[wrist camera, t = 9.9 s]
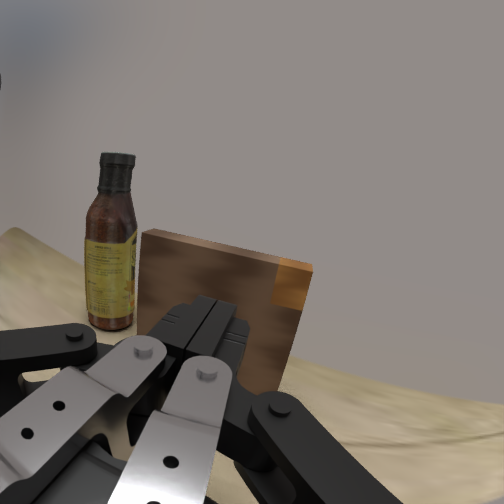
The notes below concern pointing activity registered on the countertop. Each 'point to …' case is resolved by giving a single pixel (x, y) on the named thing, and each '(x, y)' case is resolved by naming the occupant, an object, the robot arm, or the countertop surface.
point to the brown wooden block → (227, 295)
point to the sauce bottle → (111, 245)
